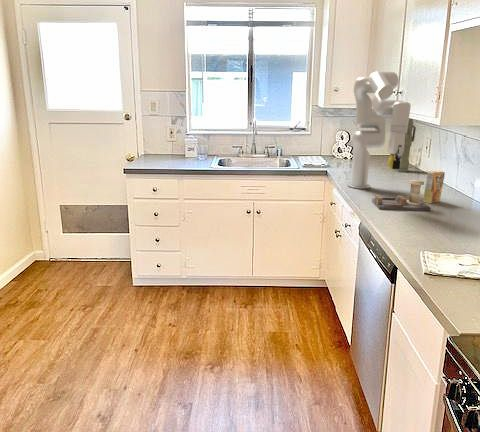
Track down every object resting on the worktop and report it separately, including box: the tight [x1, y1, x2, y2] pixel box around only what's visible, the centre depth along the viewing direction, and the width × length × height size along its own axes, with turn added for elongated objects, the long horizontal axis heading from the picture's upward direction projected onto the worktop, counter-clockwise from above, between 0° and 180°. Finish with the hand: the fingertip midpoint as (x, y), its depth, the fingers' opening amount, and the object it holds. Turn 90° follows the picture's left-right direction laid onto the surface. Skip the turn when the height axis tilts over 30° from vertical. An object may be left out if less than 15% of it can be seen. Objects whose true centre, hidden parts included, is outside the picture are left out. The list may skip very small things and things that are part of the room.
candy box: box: [422, 170, 446, 204], centre depth 230 cm, size 9×4×15 cm, turn 123°
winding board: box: [371, 194, 432, 212], centre depth 222 cm, size 14×24×4 cm, turn 88°
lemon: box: [388, 154, 401, 171], centre depth 216 cm, size 6×6×8 cm
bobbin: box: [406, 179, 425, 206], centre depth 220 cm, size 7×7×11 cm
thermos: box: [394, 118, 417, 173], centre depth 303 cm, size 9×12×35 cm
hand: (393, 167), depth 217 cm, fingers closed on lemon, 5 cm apart
